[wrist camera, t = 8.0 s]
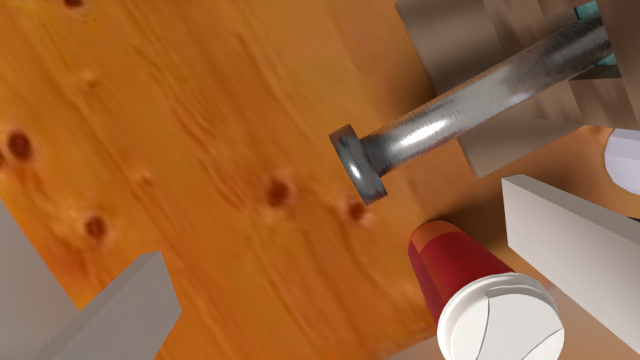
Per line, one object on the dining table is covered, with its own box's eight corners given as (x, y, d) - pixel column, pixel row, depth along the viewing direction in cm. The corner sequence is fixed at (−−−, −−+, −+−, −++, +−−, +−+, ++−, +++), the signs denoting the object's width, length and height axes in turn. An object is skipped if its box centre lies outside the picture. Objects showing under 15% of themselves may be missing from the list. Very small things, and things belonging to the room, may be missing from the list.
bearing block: (394, 4, 32) (487, -106, 14) (575, -102, 30) (947, -385, 12) (474, 175, 36) (628, 258, 18) (640, 90, 34) (999, 88, 16)
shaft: (327, 130, 27) (329, 140, 22) (554, 4, 25) (619, -20, 20) (361, 193, 28) (371, 217, 23) (581, 77, 26) (649, 73, 21)
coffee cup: (452, 292, 39) (531, 411, 24) (383, 265, 38) (422, 372, 24) (490, 225, 37) (599, 310, 23) (418, 195, 36) (484, 264, 22)
